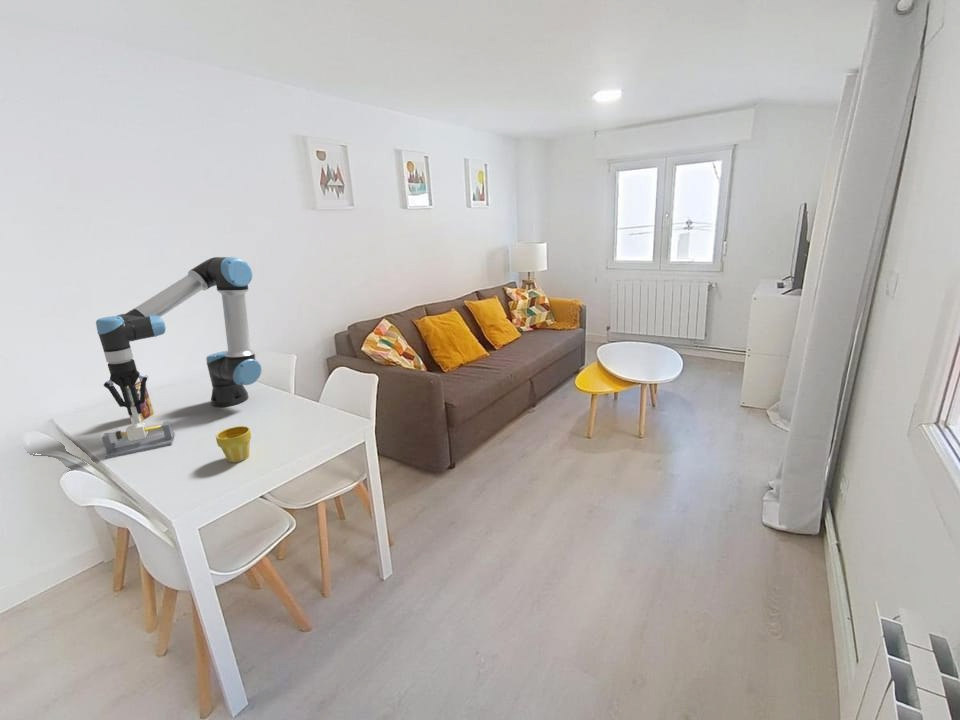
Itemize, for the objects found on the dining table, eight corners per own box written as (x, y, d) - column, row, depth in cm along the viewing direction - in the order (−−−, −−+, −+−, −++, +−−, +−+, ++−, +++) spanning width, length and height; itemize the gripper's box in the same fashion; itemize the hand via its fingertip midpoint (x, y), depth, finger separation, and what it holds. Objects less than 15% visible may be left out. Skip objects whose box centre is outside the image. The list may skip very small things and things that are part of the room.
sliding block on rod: (175, 434, 178) (170, 416, 175) (171, 444, 169) (166, 425, 167) (112, 447, 169) (106, 428, 167) (105, 458, 161) (98, 438, 158)
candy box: (144, 413, 199) (135, 381, 195) (154, 413, 199) (145, 380, 195) (130, 422, 191) (120, 388, 186) (140, 421, 191) (131, 387, 186)
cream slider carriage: (147, 433, 171) (141, 412, 168) (145, 437, 167) (139, 416, 165) (131, 436, 169) (125, 415, 166) (129, 440, 165) (122, 419, 163)
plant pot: (229, 451, 162) (224, 426, 159) (259, 449, 163) (254, 424, 160) (216, 466, 152) (209, 440, 149) (248, 464, 153) (242, 438, 150)
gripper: (144, 355, 166) (160, 414, 173) (100, 361, 160) (118, 422, 167) (140, 360, 159) (157, 421, 166) (94, 366, 154) (113, 430, 161)
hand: (138, 422), depth 167 cm, fingers closed
